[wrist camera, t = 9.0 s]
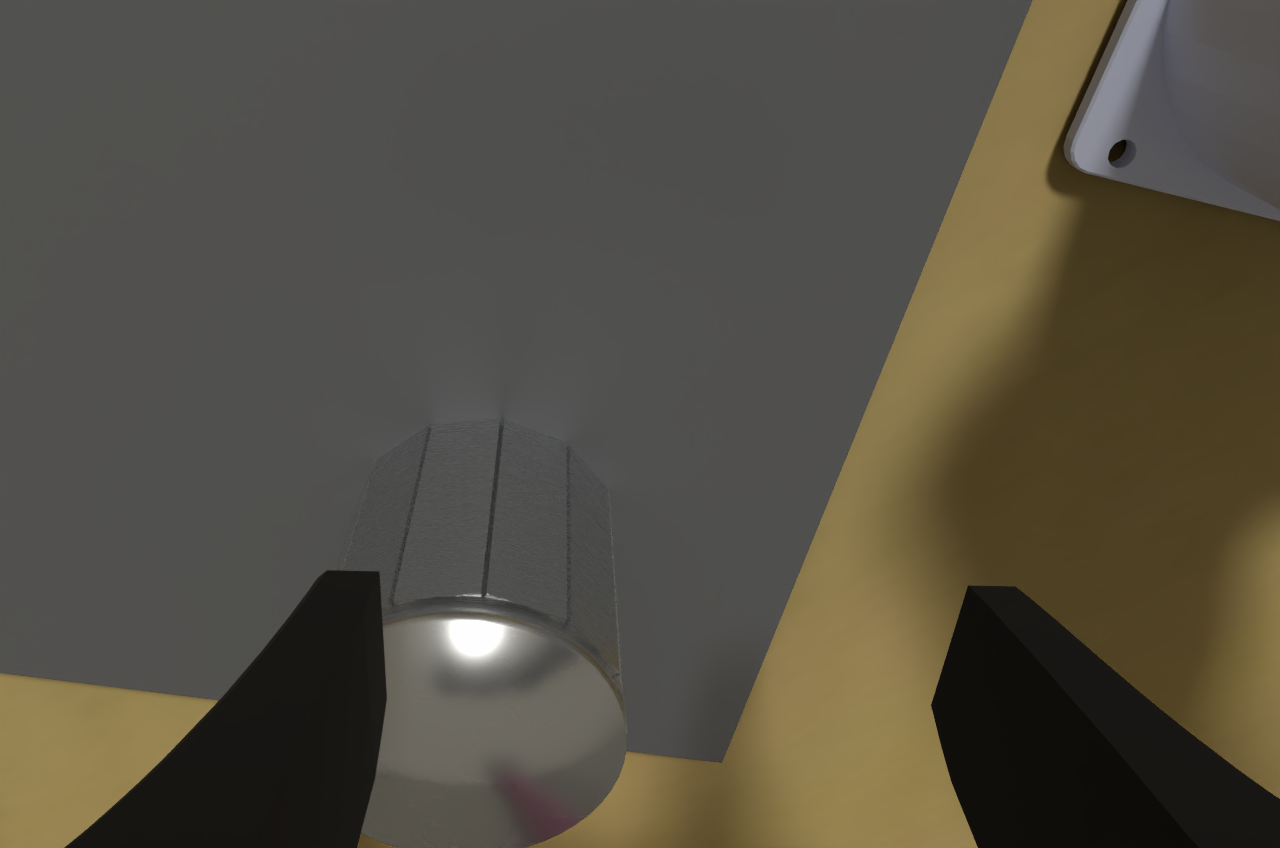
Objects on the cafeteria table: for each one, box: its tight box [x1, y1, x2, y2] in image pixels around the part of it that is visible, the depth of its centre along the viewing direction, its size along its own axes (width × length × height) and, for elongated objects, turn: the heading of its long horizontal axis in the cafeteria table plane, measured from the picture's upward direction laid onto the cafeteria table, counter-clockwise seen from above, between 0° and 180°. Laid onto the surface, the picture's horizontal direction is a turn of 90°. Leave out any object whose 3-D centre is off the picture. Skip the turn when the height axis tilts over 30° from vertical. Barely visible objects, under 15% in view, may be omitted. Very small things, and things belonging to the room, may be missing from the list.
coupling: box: [335, 418, 627, 848], centre depth 19 cm, size 5×5×6 cm
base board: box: [0, 0, 1032, 763], centre depth 20 cm, size 20×20×1 cm
